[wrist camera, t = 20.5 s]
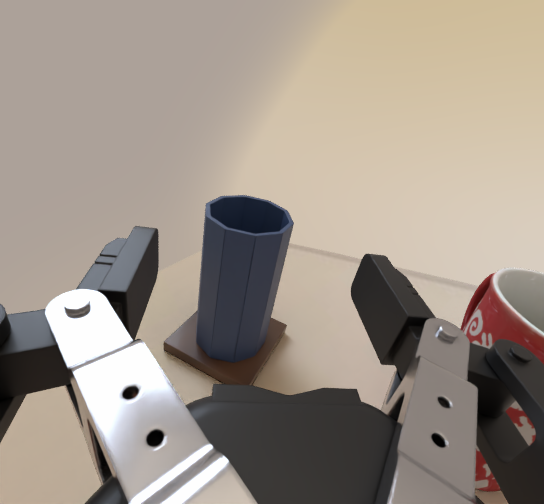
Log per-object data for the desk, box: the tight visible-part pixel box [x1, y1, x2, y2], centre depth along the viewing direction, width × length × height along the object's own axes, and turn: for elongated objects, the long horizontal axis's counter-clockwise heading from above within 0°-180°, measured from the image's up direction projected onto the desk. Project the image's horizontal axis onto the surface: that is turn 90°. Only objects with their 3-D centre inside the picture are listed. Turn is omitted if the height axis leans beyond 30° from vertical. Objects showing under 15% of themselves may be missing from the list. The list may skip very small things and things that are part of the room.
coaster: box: [164, 311, 287, 385], centre depth 28 cm, size 8×8×1 cm
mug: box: [460, 268, 544, 491], centre depth 23 cm, size 13×9×14 cm
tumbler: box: [196, 195, 294, 363], centre depth 25 cm, size 6×6×12 cm
